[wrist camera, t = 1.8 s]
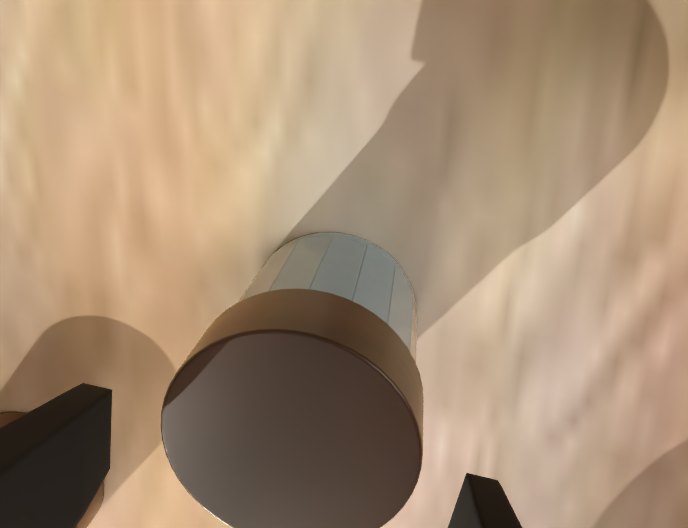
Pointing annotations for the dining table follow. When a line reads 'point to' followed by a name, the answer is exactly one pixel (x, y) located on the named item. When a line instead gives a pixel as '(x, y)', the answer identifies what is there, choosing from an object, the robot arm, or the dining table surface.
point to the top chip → (297, 415)
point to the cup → (344, 277)
